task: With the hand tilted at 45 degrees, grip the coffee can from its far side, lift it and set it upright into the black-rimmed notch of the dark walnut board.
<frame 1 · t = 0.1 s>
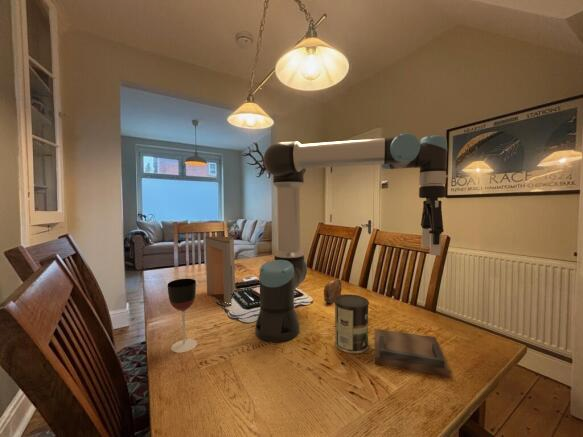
hand: (430, 250, 84), 28 cm above the table, tool pointing down, fingers open, 13 cm apart
cabinet: (226, 297, 120), on the table
coffee can: (351, 344, 80), on the table
brown rounded slab: (332, 300, 116), on the table
wineglass: (184, 346, 80), on the table
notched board: (406, 352, 75), on the table
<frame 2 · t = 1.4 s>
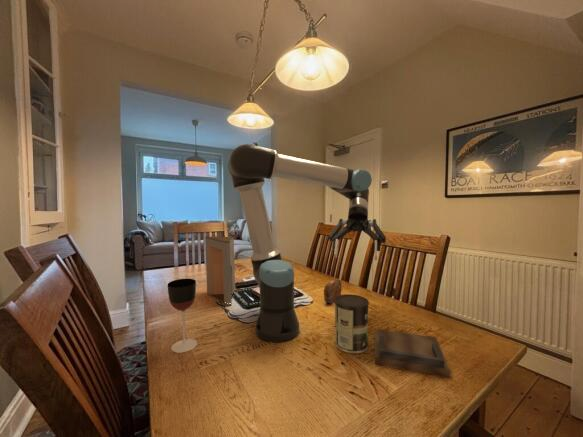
hand: (355, 257, 89), 25 cm above the table, tool tilted 45°, fingers open, 13 cm apart
nothing on the table moved.
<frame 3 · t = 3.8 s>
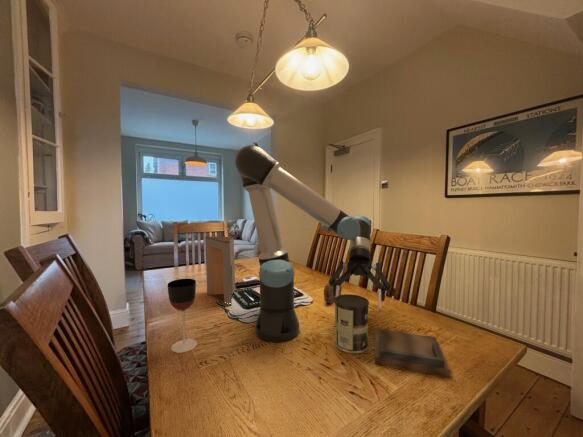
hand: (357, 307, 83), 10 cm above the table, tool tilted 45°, fingers open, 13 cm apart
nothing on the table moved.
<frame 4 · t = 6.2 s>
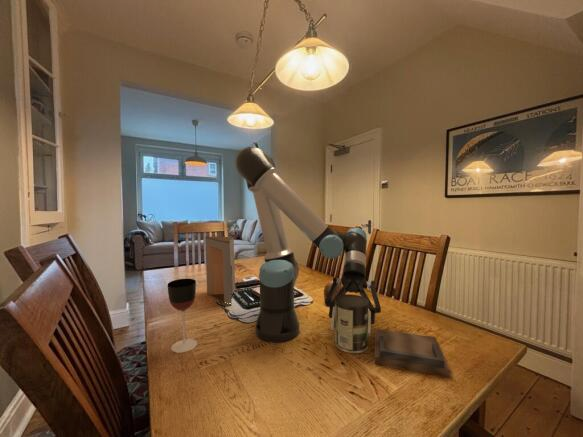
hand: (350, 331, 77), 6 cm above the table, tool tilted 45°, fingers closed on coffee can, 10 cm apart
coffee can: (351, 344, 80), on the table, touching gripper
everything else where it was.
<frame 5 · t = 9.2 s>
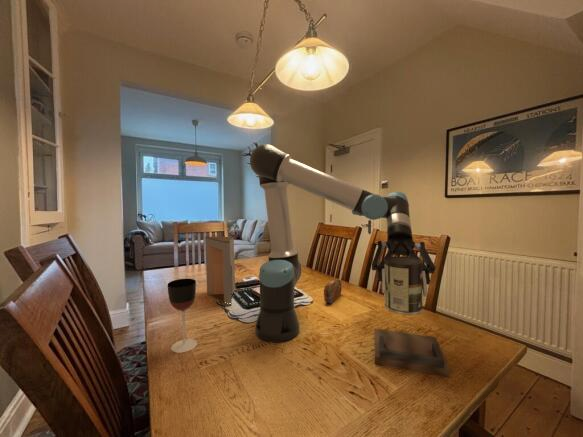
hand: (404, 292, 71), 19 cm above the table, tool tilted 45°, fingers closed on coffee can, 10 cm apart
coffee can: (402, 308, 75), point 13 cm above the table, touching gripper
everything else where it was.
when the fingers open (9 cm above the table, at t = 12.0 s): coffee can drops 1 cm, resting on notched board.
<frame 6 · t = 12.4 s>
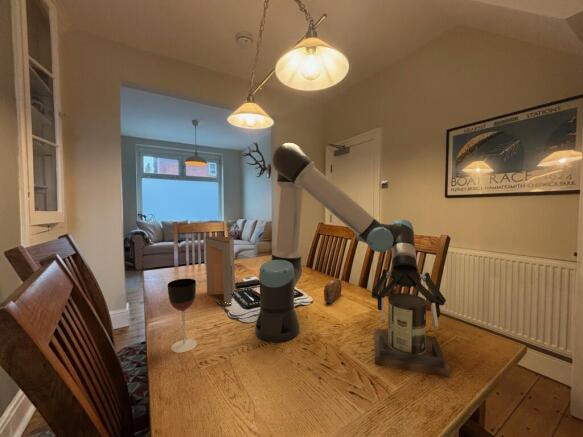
hand: (408, 324, 72), 10 cm above the table, tool tilted 45°, fingers open, 13 cm apart
coffee can: (406, 346, 75), point 2 cm above the table, touching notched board
everything else where it was.
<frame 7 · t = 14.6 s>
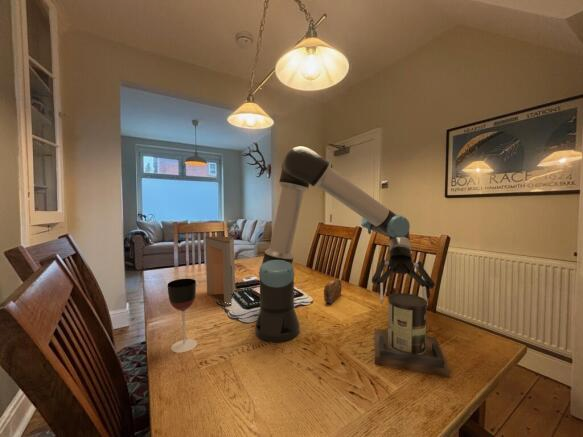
hand: (403, 304, 85), 10 cm above the table, tool tilted 45°, fingers open, 13 cm apart
nothing on the table moved.
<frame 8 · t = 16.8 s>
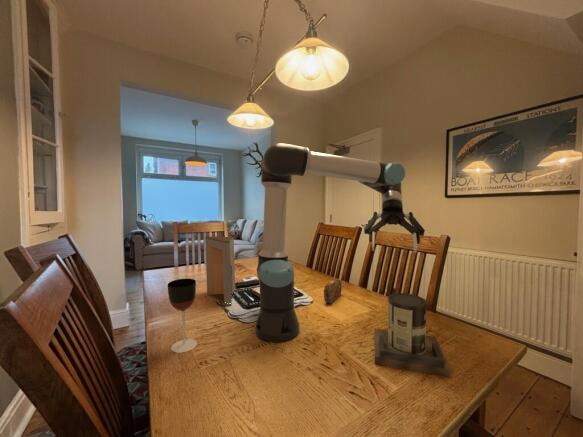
hand: (394, 249, 88), 28 cm above the table, tool tilted 45°, fingers open, 13 cm apart
nothing on the table moved.
at the end: coffee can 0.3 cm off-centre on the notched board, point 1.8 cm above the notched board's base; coffee can tilted 0°; the gripper is holding nothing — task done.
